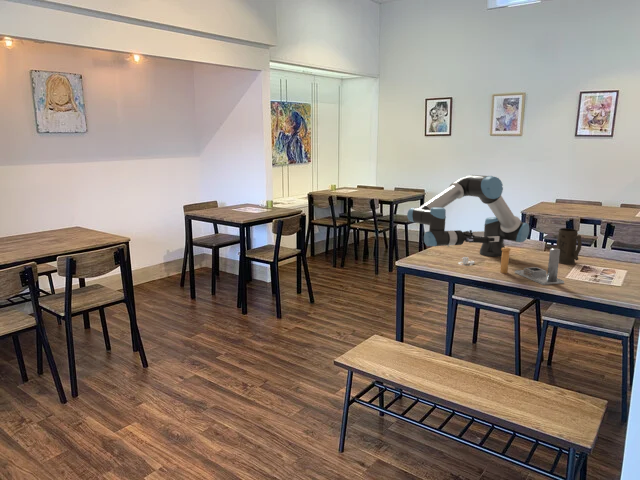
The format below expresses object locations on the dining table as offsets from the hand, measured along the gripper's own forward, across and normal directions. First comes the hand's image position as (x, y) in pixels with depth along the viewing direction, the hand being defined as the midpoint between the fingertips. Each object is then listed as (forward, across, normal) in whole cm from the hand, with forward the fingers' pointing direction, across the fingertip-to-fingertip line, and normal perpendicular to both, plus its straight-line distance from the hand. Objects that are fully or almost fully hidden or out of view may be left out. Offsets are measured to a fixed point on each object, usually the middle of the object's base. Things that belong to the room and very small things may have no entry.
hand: (491, 236), depth 242 cm
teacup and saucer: (0, -18, -21) cm, 27 cm away
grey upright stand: (+21, +13, -20) cm, 32 cm away
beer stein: (+58, -9, -20) cm, 62 cm away
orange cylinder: (+10, 0, -20) cm, 22 cm away
